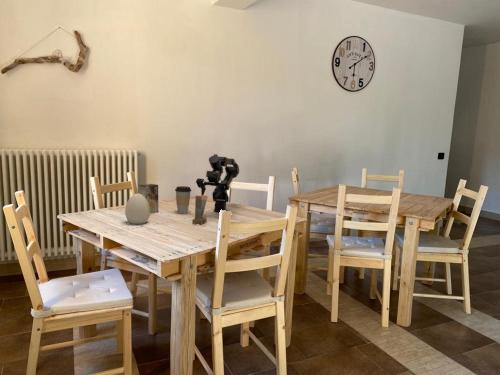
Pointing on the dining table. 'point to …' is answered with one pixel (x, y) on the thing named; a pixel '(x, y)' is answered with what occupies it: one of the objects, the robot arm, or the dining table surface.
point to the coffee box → (150, 195)
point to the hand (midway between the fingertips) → (208, 196)
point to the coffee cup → (182, 199)
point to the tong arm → (203, 204)
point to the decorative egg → (137, 209)
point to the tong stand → (198, 212)
